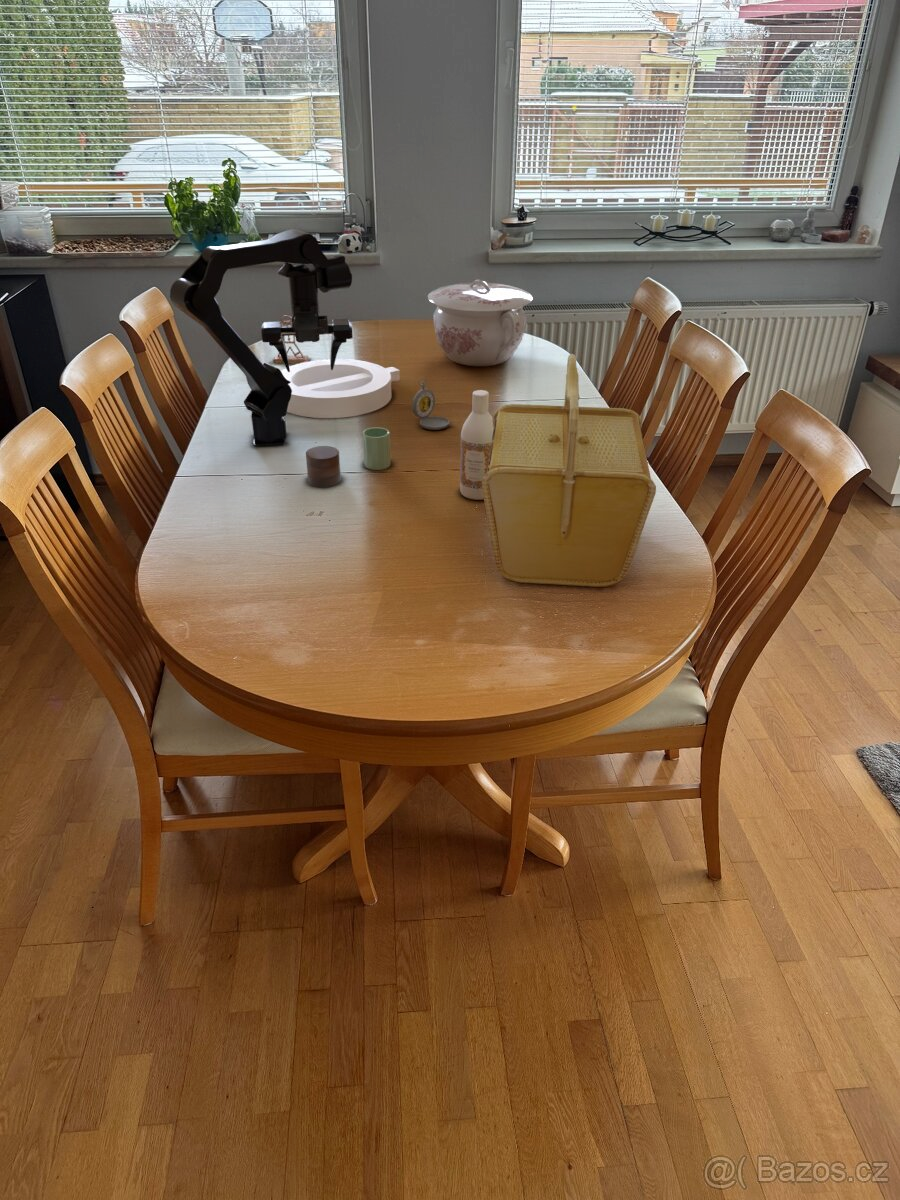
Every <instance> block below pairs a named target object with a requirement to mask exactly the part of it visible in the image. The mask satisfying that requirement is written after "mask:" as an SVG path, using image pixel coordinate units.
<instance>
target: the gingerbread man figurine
mask: <svg viewBox="0 0 900 1200" xmlns="http://www.w3.org/2000/svg"><path fill="white" fill-rule="evenodd" d="M284 318H289V320H287V319H284ZM283 319H284V320H283ZM287 323H288V324H290V325H289V326H292V315H288V314H285V315H283V316H282V317H281V319H280V324H281V326H288V325H287ZM283 337H284V342H285V344H287V345H288V344H293V345H294V346H295V348H296V350H297V352H295V351H294V349H293V348H292V347H291V345H290V346H289V347H288V349H287V350H286V351H287V356H288V360H289V364H295V365H296V364H299V363H303V362H309V361H310V357H309V356H308V355H304V354H303V352H302V351H301V349H300V347H298V345H297V343H296V335H292V337H293V341H291V337H290V336H287V341H286V339H285V338H286V336H283ZM289 351H291V353H292V355H291V354H288V353H289ZM272 361H273V364H284V362H283V360H282V357H281V355H280V353H279V352H278V354H276V355H275V356H274V358H273V359H272Z"/></svg>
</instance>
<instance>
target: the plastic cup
mask: <svg viewBox="0 0 900 1200" xmlns="http://www.w3.org/2000/svg"><path fill="white" fill-rule="evenodd" d="M362 445H363V463H364V467H365V468H367V470H368V469H369V470H372V471H380V470H381V471H383V470H386V469H387V468H389V467H390V466H391V436H390V430H388V429H387V428H386V427H385V428H384V427H369V428H366V429H364V430H363V431H362Z"/></svg>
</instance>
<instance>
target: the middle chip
mask: <svg viewBox="0 0 900 1200" xmlns="http://www.w3.org/2000/svg"><path fill="white" fill-rule="evenodd" d="M306 472H307V475H308V474H309V475H310V476H312V477H316V478H329V477H333V476H335V475H337V474H338V473H339V472H340V473H341V463H340V461H339V463H338V464H337V465H336V466H333V467H330V468H322V469H320V468H313V467H310V466H309V465H307V464H306Z"/></svg>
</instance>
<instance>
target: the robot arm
mask: <svg viewBox="0 0 900 1200" xmlns="http://www.w3.org/2000/svg"><path fill="white" fill-rule="evenodd" d="M272 263H283V266H282V267H281V268H280V269H279V270H278V271H277V274H278V275H279V276H282V277H284V278H288V286H289V297H290V298H289V300H290V310H291V317H292V319H291V321H292V323H291V324H292V325H291V326H290V325H287V326H284V325H283V326H281V320H280V321H264V322H263V323H262V324H261V329H260V331H261V341H262V343H268V345H269V346H270V347H275V349H276V350H277V352H278V354H279V353H280V355H281V357H282V360H283V362H284V363H283V364H284V366H285V368H286V369H287V371H288V372H290V368H289V367H290V363H289V360H288V356H287V355H288V353H287V351H288V350H287V347H286V343H285V342H284V337H288V336H289V337H291V336H293V335H296V337H295V342H297V343H298V344H299V343H301V344H302V343H305V342H309V343H310V342H312V343H317V342H319V341H320V336H321V335H322V336H323V335H331V339H330V356H329V357H330V358H329V359H330V364H331V370H333V367H334V364H335V360H336V359H337V356H338V352H339V350H340V347H341V346H342V344H346V343H347V340H351V339H353V338H354V337H353V326H352V322H351V320H350V319H348V318H335V319H334V318H333V319H331V324H329V322H328V315H320V303H319V291H320V292H321V293H324V294H326V293H332V292H337V291H341V290H348V289H349V288H350V287H351V285H352V282H353V274H352V273H351V269H350V267H349V265H348V263H347V262H346V256H345V255H342V254H335V255H332V256H328V257H327V256H326V254H325V253H324V252H323V251H322V249H321V248H320V244H319V241H318V239H317V238H316V236H315V235H314V234H312V233H308V232H306V231H303V230H299V229H295V228H291V229H287V230H285V231H281V232H279V233H277V234H275V235H274V236H272V237H270V238H268V239H263V240H256V241H248V242H241V243H234V244H228V245H227V244H226V245H220V246H214V245H213V246H212V245H210V246H207V247H205V248H204V249H203V250H202V252H201V253H200V254H199V255H198V257H197V259H195V260H194V261H193V262H192V263H191V264H190V265H189V266H188V267H186V269H185V270H184V271H183V273H182V274H181V276H180V277H179V278H178V279H176V280H175V281H174V282H173V283H172V285H171V286H170V290H169V291H170V292H169V298H170V301H171V302H172V304H173V305H174V306H175V307H176V308H177V309H178V310H180V311H181V312H182V313H184V314H185V315H186V316H188V317H189V318H191V319H192V320H194V321H195V322H196V323H198V324H199V325H200V326H202V327H203V329H204V330H205V331H206V332H207V333H208V334H209V335H210V336H211V337H212V339H213V340H214V341H215V343H217V345H218V346H219V347H220V348H221V349H222V350H223V351H224V353H225V354H226V355H227V356H228V357H229V358H230V359H231V361H232V362H233V363H234V364H235V365H236V367H238V368H239V369H240V371H241V372H242V373H243V374H244V376H245V378H246V381H247V385H248V387H249V388H250V391H249V393H248V394H247V396H246V397H245V399H244V400H243V404H244V406H245V408H246V410H247V411H249V412H251V415H250V417H251V425H252V433H253V446H254V447H264V446H265V447H266V446H283V445H285V444H286V442H285V441H286V439H287V438H288V435H287V424H286V416H287V413H288V412H287V408H288V404H289V401H290V399H291V393H292V389H291V387H290V386H289V385H288V384H289V383H291V382H290V381H288V380H287V379H285V377H284V376H283V374H282V372H281V369H279V368H278V367H276V366H275V365H272V364H270V363H268V362H267V361H264V362H263V363H262V361H261V360H260V359H259V358H258V357H257V356H256V354H255V353H254V352H253V351H252V349H251V348H250V347H249V346H248V345H247V343H245V341H244V340H243V339H242V338H241V336H240V335H239V334H238V333H237V332H236V331H235V329H234V328H233V327H232V326H231V324H229V322H228V321H227V320H226V318H225V317H224V316H223V315H222V311H221V308H220V305H219V302H218V301H217V299H216V296H217V294H218V293H219V291H220V290H221V286H222V282H223V280H224V275H225V274H226V272H227V271H228V270H233V269H239V268H245V267H251V266H252V267H253V266H258V265H264V264H272ZM293 264H294V265H293ZM308 265H311V266H309V267H308ZM283 336H284V337H283Z"/></svg>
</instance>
